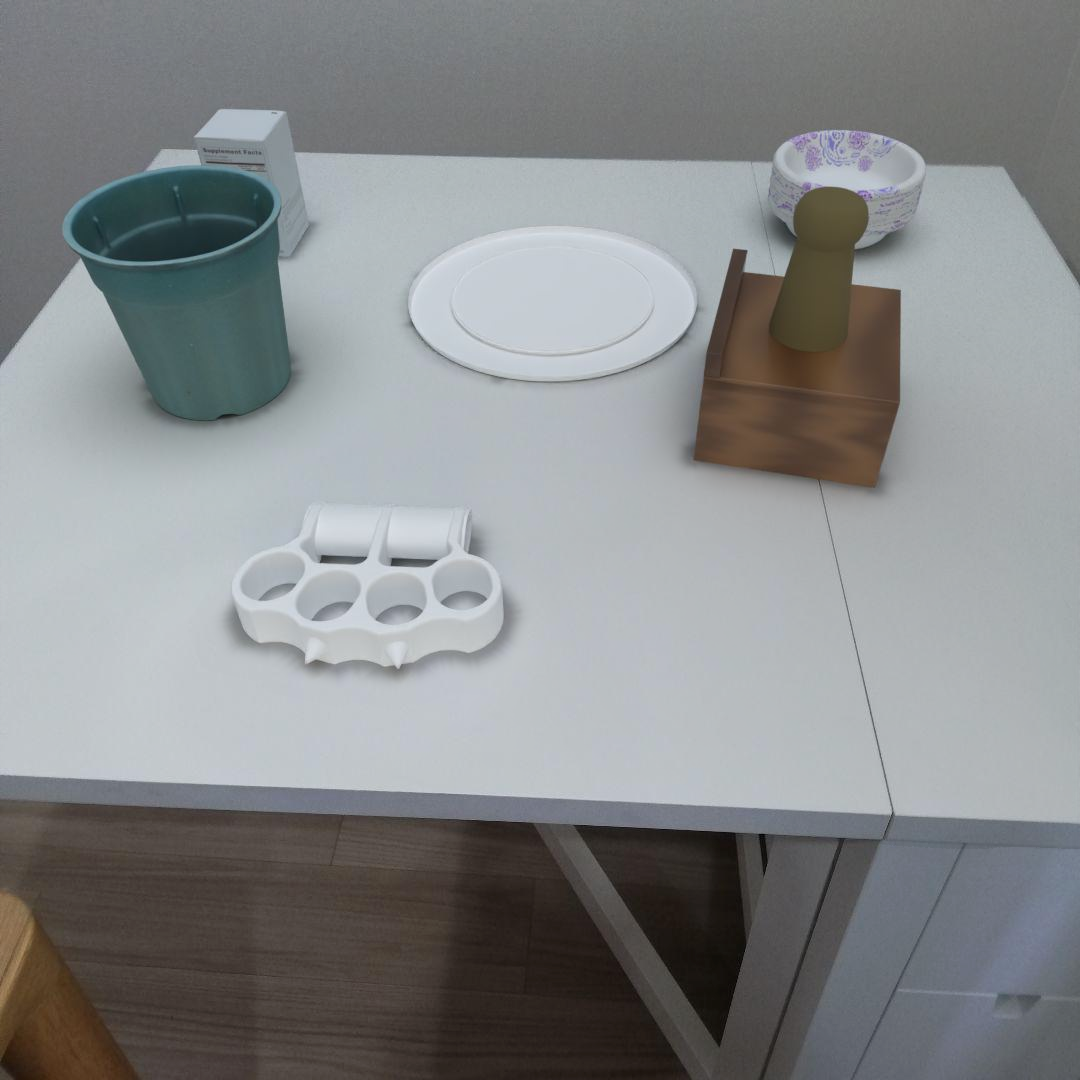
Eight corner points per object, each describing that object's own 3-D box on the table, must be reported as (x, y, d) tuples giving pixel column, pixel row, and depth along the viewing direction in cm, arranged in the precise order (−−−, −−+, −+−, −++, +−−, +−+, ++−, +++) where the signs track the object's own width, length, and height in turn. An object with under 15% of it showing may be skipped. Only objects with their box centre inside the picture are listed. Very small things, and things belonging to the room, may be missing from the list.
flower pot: (343, 401, 84) (310, 226, 73) (152, 463, 79) (84, 283, 68) (282, 314, 95) (245, 149, 83) (109, 363, 89) (44, 193, 78)
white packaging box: (247, 223, 108) (219, 106, 100) (311, 226, 108) (288, 109, 99) (222, 255, 103) (190, 135, 94) (290, 259, 102) (264, 138, 94)
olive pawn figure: (761, 343, 75) (784, 207, 67) (776, 304, 79) (799, 171, 71) (841, 358, 73) (874, 219, 66) (852, 317, 77) (884, 182, 70)
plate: (757, 307, 94) (758, 301, 93) (528, 423, 81) (528, 416, 81) (569, 207, 110) (569, 201, 109) (354, 291, 97) (353, 285, 97)
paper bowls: (799, 274, 98) (813, 199, 93) (741, 208, 109) (751, 137, 103) (936, 254, 101) (957, 180, 95) (867, 191, 111) (883, 121, 106)
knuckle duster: (515, 531, 72) (494, 690, 62) (278, 521, 74) (217, 676, 63) (514, 497, 70) (492, 657, 60) (268, 488, 71) (204, 643, 61)
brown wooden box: (878, 372, 86) (907, 267, 79) (874, 489, 75) (907, 379, 68) (719, 351, 89) (733, 248, 82) (693, 461, 78) (706, 352, 71)
